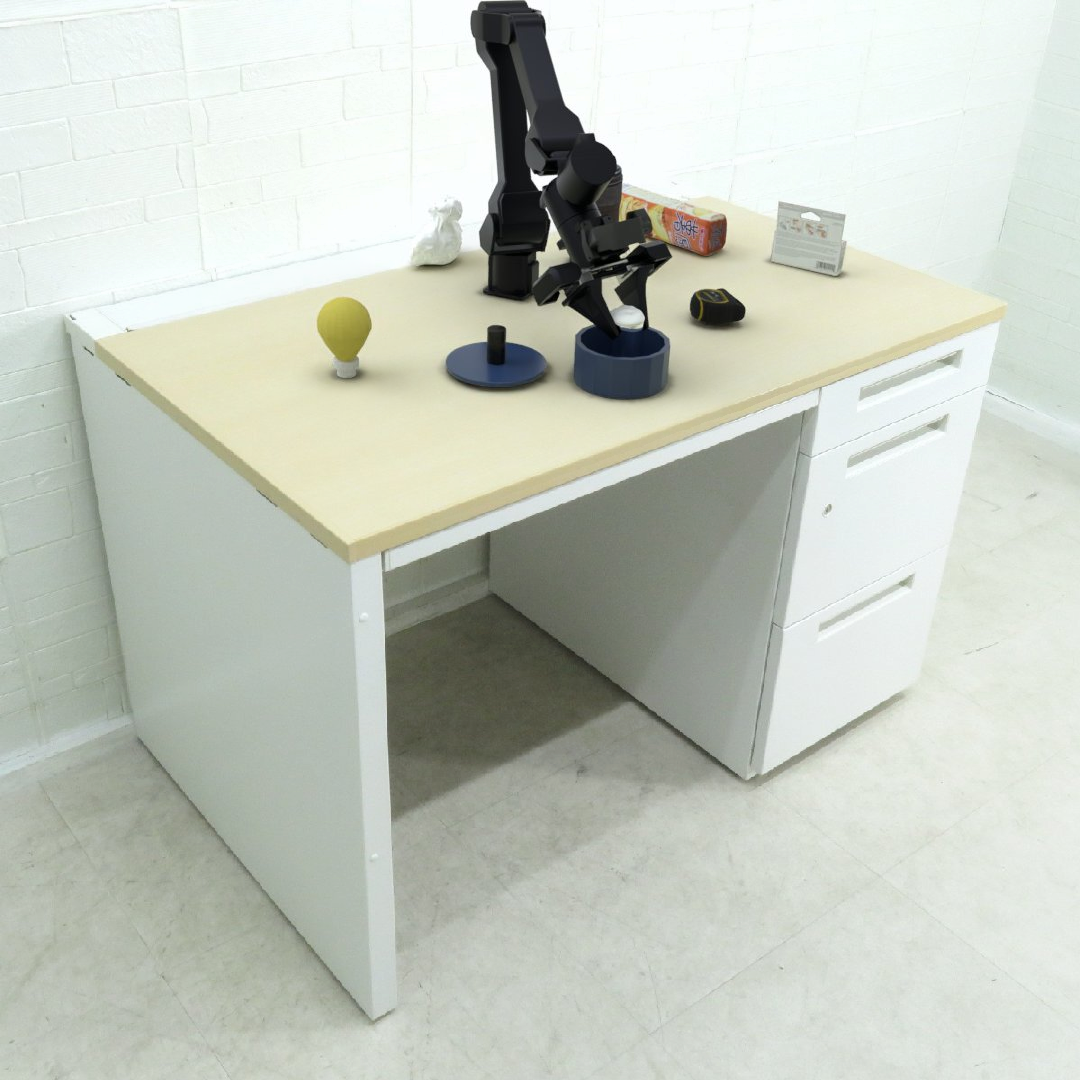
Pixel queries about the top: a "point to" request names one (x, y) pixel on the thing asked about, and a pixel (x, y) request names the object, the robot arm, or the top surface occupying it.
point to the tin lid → (496, 361)
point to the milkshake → (627, 331)
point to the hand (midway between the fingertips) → (631, 333)
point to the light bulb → (344, 332)
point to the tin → (620, 365)
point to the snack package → (677, 220)
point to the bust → (439, 234)
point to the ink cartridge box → (809, 239)
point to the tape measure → (716, 307)
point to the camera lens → (611, 197)
